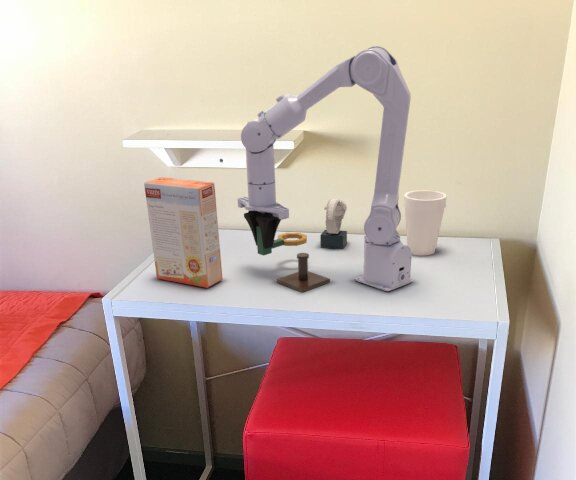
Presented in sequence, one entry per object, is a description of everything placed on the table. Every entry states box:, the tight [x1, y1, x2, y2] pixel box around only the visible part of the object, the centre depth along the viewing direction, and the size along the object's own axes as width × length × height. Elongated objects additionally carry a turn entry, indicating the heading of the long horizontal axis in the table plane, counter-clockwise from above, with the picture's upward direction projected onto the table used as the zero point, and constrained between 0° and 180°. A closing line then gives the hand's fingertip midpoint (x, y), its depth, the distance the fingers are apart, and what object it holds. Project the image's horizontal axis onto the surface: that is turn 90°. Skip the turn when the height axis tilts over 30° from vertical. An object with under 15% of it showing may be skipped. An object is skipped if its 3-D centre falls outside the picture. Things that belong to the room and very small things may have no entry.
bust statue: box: [320, 198, 348, 250], centre depth 158 cm, size 6×8×11 cm
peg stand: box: [276, 252, 331, 293], centre depth 139 cm, size 8×8×6 cm
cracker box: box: [143, 176, 223, 289], centre depth 139 cm, size 14×6×21 cm, turn 59°
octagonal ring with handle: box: [256, 226, 308, 256], centre depth 145 cm, size 12×6×6 cm, turn 131°
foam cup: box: [403, 189, 447, 256], centre depth 152 cm, size 10×9×13 cm
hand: (264, 246), depth 143 cm, fingers closed on octagonal ring with handle
